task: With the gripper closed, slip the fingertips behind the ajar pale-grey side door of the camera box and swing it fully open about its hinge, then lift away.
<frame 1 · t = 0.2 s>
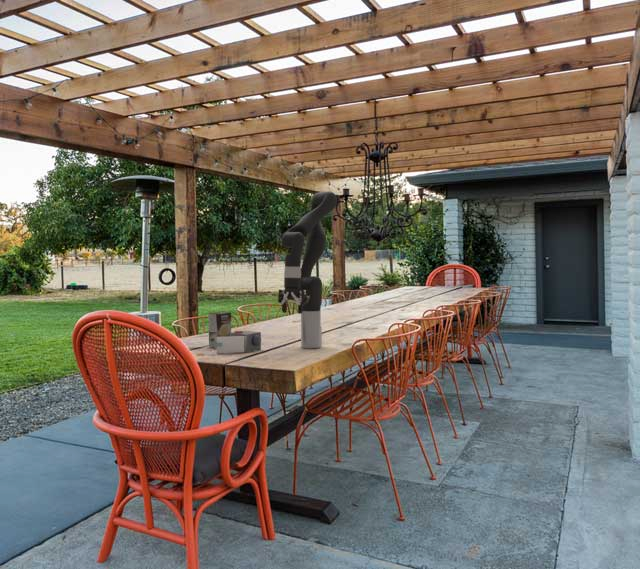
hand: (292, 313, 251), 17 cm above the table, tool pointing down, fingers open, 8 cm apart
coffee box: (220, 346, 267), on the table
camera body: (245, 349, 256), on the table
side door: (231, 344, 248), point 4 cm above the table, hinge at 40.0°
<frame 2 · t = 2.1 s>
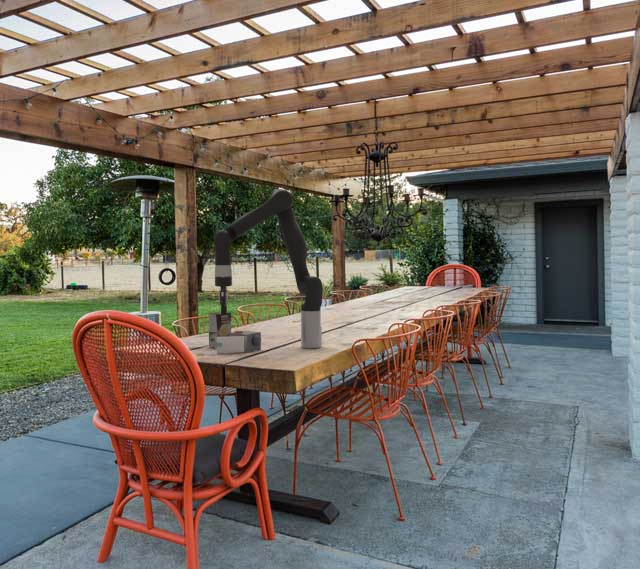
hand: (223, 313, 250), 17 cm above the table, tool pointing down, fingers open, 4 cm apart
nothing on the table moved.
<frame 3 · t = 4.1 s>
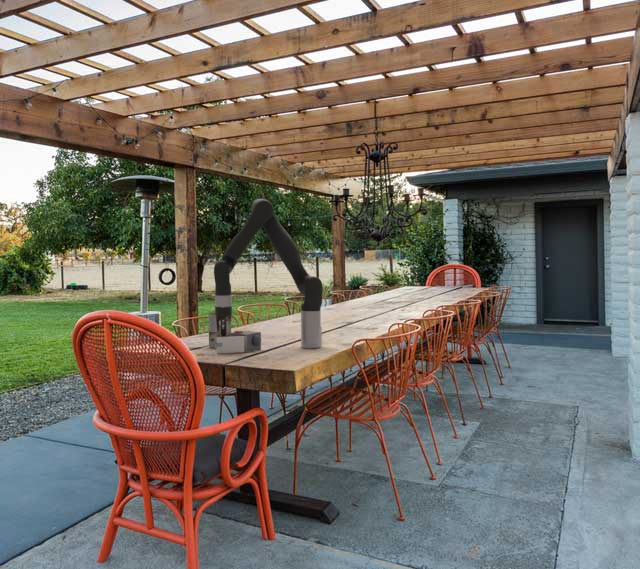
hand: (223, 343, 251), 4 cm above the table, tool pointing down, fingers closed
side door: (231, 344, 248), point 4 cm above the table, hinge at 40.9°, touching gripper
everything else where it was.
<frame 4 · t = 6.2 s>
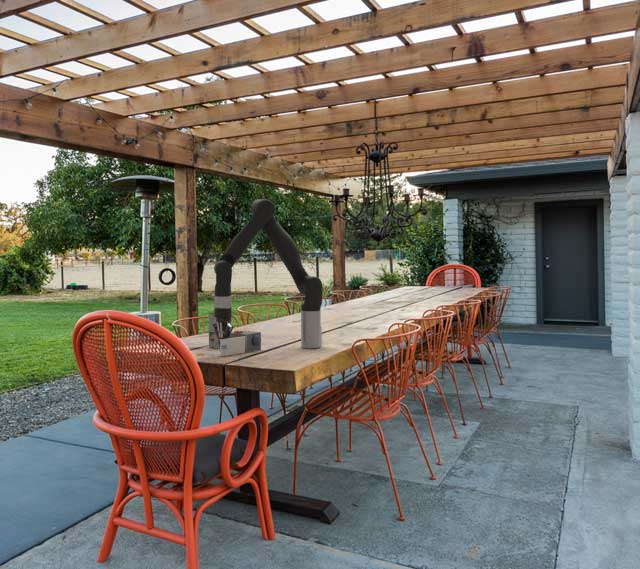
hand: (222, 346, 245), 4 cm above the table, tool pointing down, fingers closed
side door: (234, 345, 244), point 4 cm above the table, hinge at 75.6°, touching gripper
everything else where it was.
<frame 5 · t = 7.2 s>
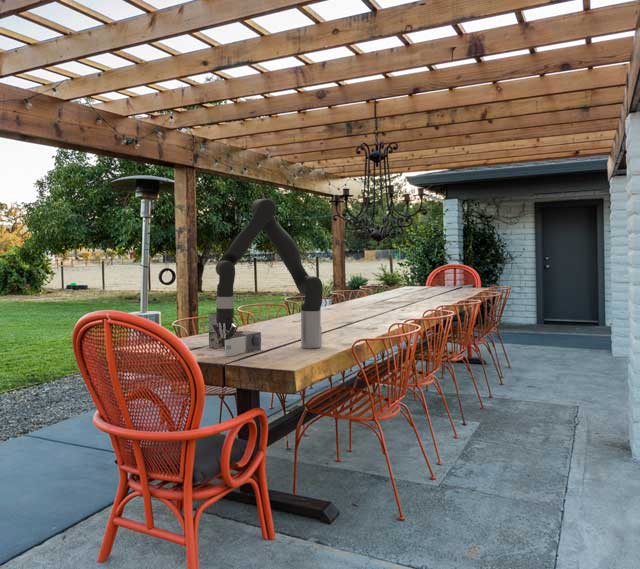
hand: (225, 346, 242), 4 cm above the table, tool pointing down, fingers closed
side door: (236, 345, 244), point 4 cm above the table, hinge at 89.7°, touching gripper
everything else where it was.
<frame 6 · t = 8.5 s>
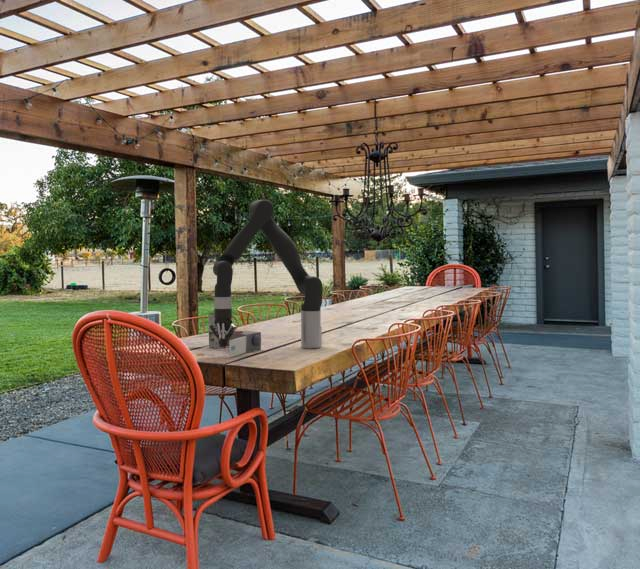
hand: (223, 347, 242), 4 cm above the table, tool pointing down, fingers closed
side door: (238, 346, 243), point 4 cm above the table, hinge at 101.4°
everything else where it was.
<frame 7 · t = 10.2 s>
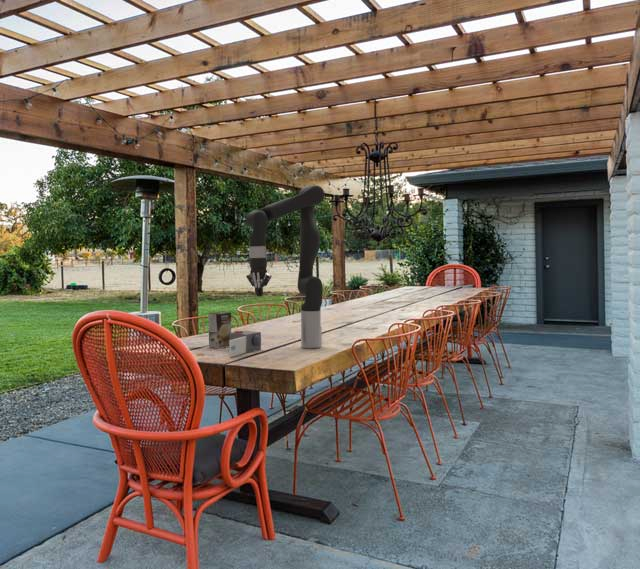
hand: (259, 296, 246), 25 cm above the table, tool pointing down, fingers closed
nothing on the table moved.
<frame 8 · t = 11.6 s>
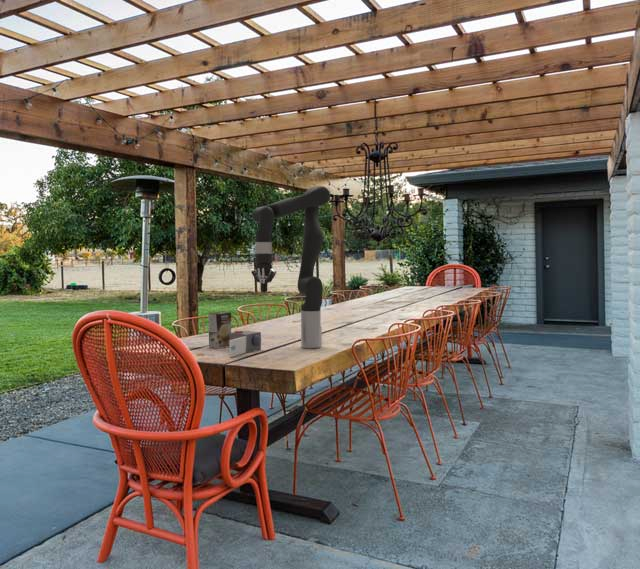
hand: (264, 292, 246), 27 cm above the table, tool pointing down, fingers closed
nothing on the table moved.
at the end: side door at +101° (first picture: +40°); side door touching nothing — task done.
